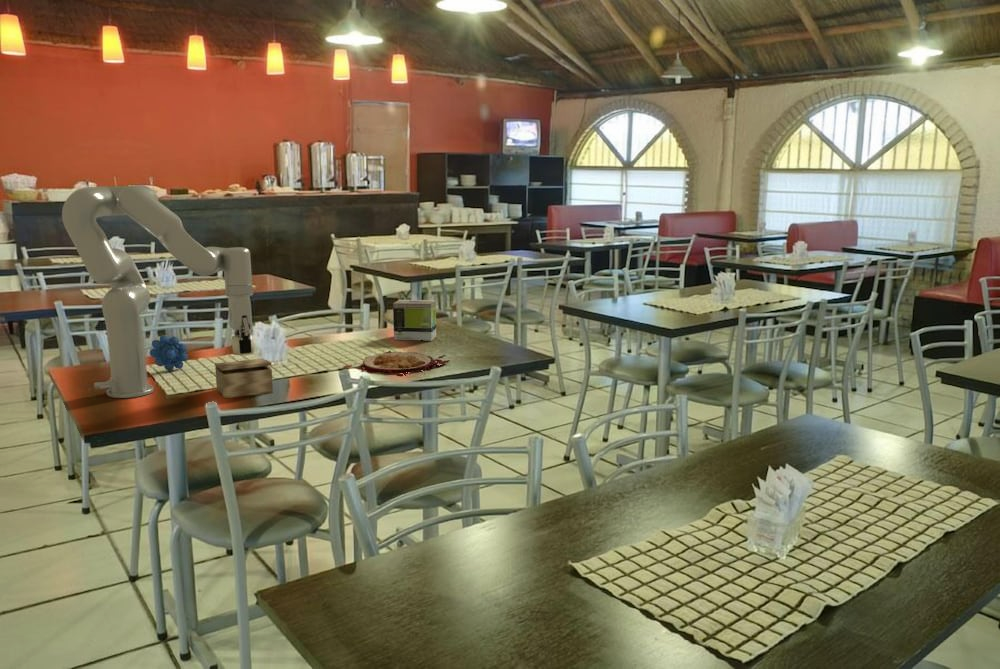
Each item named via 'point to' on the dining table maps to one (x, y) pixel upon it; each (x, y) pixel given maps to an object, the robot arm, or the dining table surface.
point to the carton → (244, 381)
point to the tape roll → (237, 348)
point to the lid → (242, 364)
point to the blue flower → (169, 352)
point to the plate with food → (398, 362)
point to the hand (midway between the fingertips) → (243, 350)
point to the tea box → (414, 320)
